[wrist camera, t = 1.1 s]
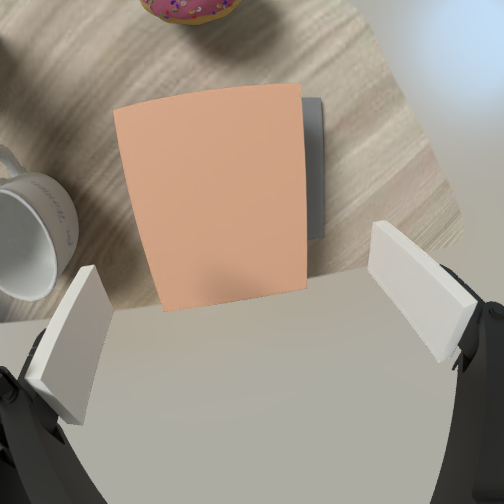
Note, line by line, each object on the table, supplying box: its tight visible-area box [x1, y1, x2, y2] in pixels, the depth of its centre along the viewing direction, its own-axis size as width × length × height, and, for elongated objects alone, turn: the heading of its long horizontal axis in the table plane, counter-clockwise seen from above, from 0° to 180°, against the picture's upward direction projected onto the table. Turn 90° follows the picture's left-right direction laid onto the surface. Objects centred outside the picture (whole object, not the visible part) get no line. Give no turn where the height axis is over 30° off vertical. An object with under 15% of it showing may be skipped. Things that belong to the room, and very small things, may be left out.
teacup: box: [0, 145, 79, 302], centre depth 20 cm, size 14×11×8 cm
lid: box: [113, 83, 307, 312], centre depth 21 cm, size 12×16×2 cm
